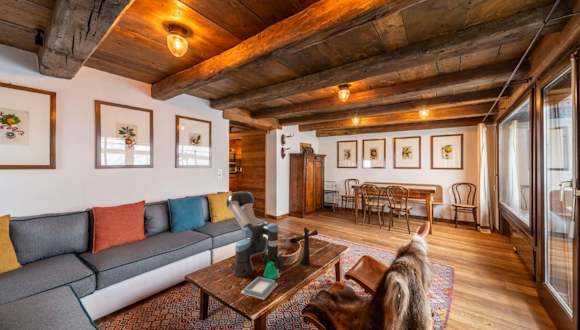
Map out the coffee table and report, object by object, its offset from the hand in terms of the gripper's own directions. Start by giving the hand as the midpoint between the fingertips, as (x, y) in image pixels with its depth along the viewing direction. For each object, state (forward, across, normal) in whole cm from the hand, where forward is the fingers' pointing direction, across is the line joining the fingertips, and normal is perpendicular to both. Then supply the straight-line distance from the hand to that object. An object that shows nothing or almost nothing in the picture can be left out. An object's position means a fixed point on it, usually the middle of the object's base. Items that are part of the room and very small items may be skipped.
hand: (272, 275), depth 166 cm
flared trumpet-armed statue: (+1, +14, +28) cm, 31 cm away
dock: (0, 0, -18) cm, 18 cm away
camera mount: (+1, 0, 0) cm, 1 cm away
